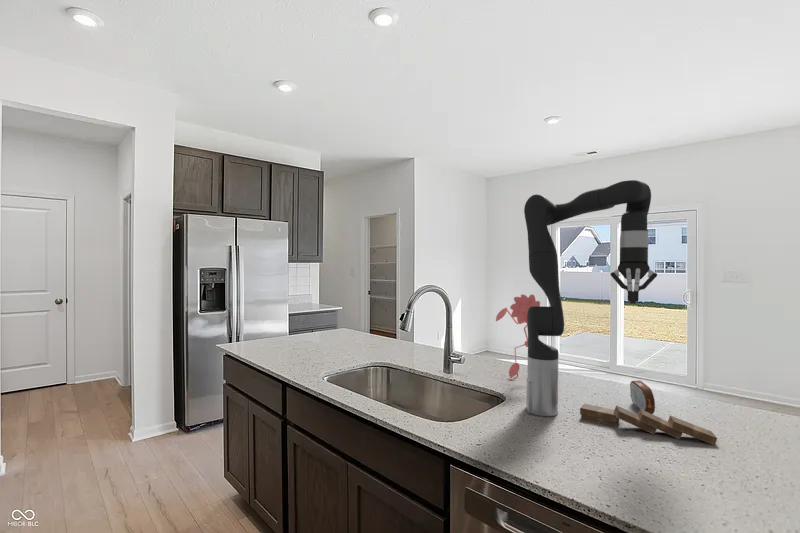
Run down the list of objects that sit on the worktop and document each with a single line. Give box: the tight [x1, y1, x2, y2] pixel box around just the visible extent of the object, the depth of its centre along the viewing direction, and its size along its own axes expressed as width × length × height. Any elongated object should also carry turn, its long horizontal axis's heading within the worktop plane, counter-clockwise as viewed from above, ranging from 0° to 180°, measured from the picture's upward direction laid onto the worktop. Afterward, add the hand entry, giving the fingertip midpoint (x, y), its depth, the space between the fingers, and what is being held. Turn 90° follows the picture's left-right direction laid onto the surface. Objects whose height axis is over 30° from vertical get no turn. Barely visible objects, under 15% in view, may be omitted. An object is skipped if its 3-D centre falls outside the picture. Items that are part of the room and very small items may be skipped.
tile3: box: [614, 405, 658, 435], centre depth 119 cm, size 2×5×10 cm
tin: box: [629, 380, 656, 415], centre depth 136 cm, size 15×3×8 cm, turn 168°
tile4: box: [637, 409, 683, 440], centre depth 116 cm, size 2×5×10 cm
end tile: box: [667, 415, 718, 446], centre depth 112 cm, size 2×5×10 cm
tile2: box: [579, 403, 620, 422], centre depth 126 cm, size 2×5×10 cm
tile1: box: [580, 415, 620, 427], centre depth 126 cm, size 2×5×10 cm
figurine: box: [495, 293, 550, 379], centre depth 167 cm, size 15×26×35 cm, turn 61°
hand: (633, 303), depth 127 cm, fingers closed
